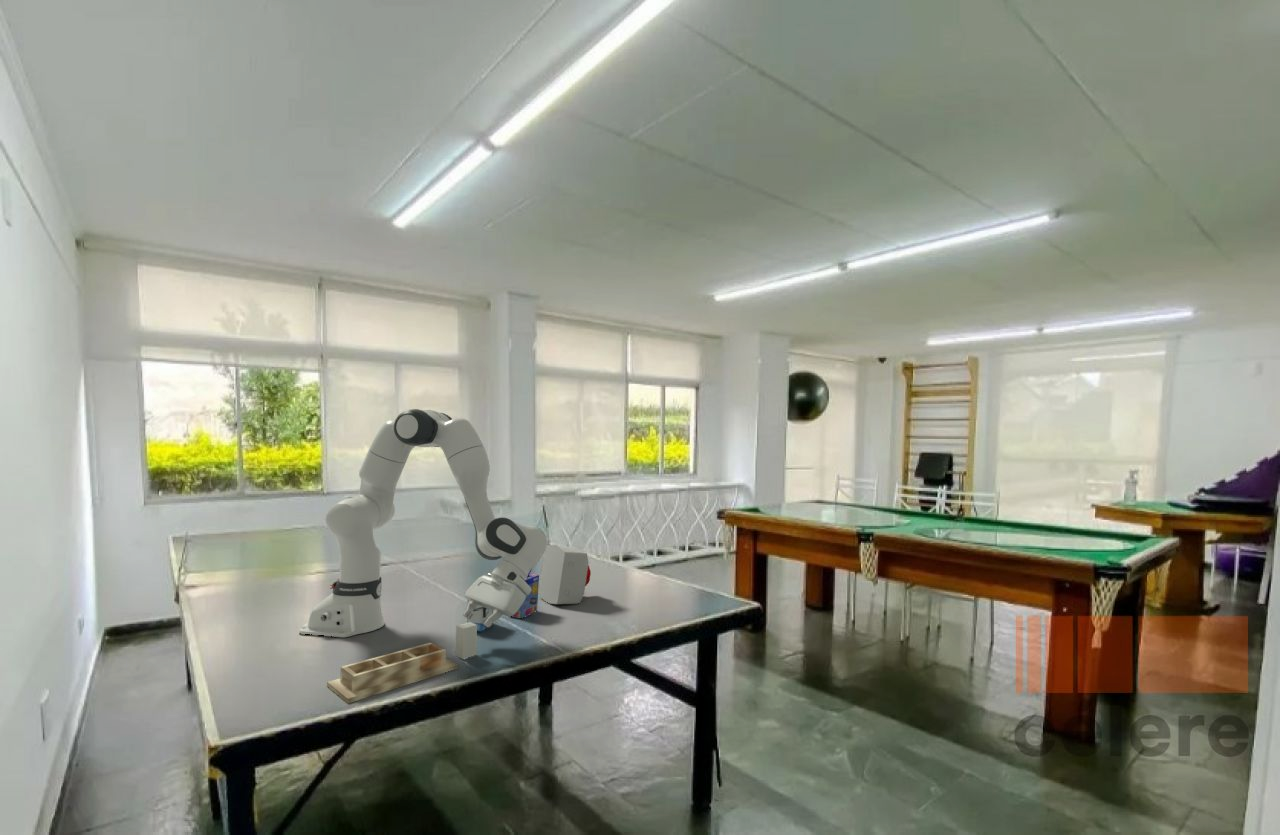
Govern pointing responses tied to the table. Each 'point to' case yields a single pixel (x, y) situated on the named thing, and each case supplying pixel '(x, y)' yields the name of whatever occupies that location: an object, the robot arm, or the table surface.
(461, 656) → the off-white tall block
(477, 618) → the ink box
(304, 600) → the table surface
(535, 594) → the ink cartridge box
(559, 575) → the electrical switch box
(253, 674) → the table surface
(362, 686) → the rack
